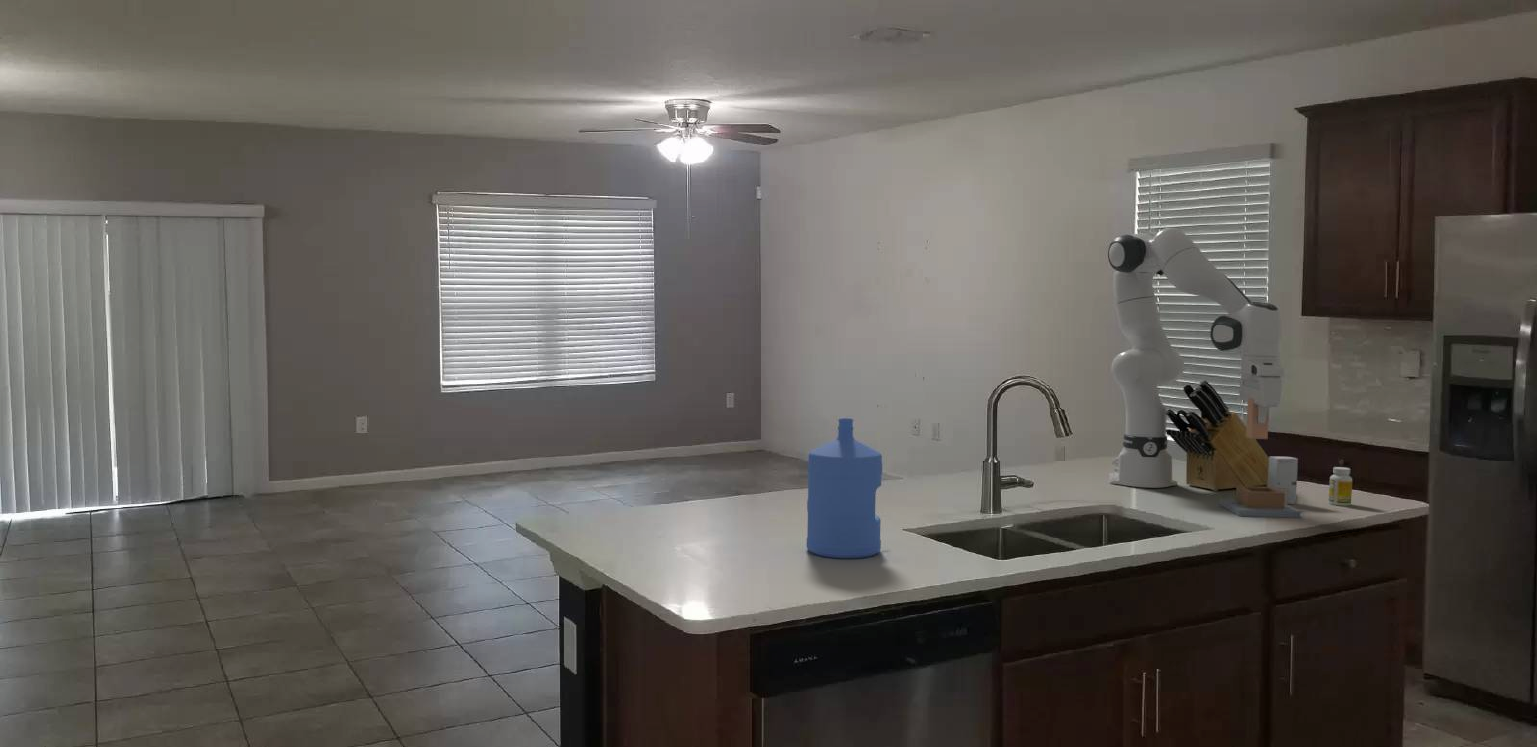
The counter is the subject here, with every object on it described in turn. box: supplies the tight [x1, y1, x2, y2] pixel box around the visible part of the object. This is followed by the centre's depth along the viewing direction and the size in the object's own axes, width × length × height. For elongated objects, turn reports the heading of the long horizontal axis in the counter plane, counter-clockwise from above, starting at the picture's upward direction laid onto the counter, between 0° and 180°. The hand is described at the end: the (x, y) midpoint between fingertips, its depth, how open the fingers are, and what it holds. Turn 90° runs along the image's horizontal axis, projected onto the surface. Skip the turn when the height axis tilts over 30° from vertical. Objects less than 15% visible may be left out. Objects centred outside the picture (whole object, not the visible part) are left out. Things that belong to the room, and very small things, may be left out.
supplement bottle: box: [1328, 466, 1353, 507], centre depth 312 cm, size 5×5×10 cm
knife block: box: [1166, 379, 1269, 492], centre depth 335 cm, size 11×35×31 cm, turn 115°
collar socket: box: [1219, 486, 1302, 519], centre depth 301 cm, size 15×15×6 cm
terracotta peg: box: [1246, 398, 1270, 440], centre depth 298 cm, size 4×4×10 cm
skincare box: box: [1267, 455, 1299, 505], centre depth 312 cm, size 6×4×12 cm
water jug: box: [806, 417, 883, 560], centre depth 248 cm, size 16×16×28 cm
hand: (1257, 421), depth 299 cm, fingers closed on terracotta peg, 4 cm apart
